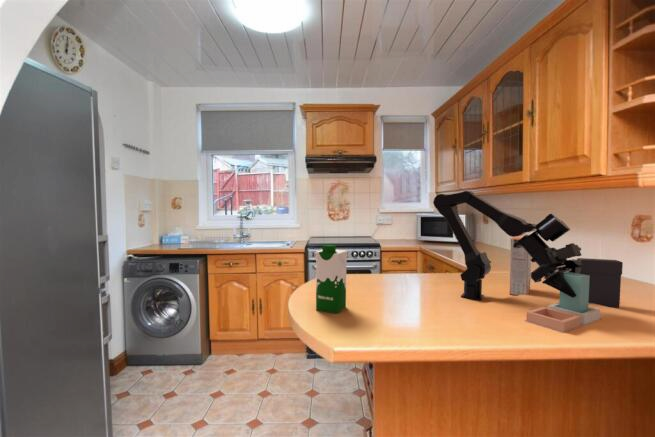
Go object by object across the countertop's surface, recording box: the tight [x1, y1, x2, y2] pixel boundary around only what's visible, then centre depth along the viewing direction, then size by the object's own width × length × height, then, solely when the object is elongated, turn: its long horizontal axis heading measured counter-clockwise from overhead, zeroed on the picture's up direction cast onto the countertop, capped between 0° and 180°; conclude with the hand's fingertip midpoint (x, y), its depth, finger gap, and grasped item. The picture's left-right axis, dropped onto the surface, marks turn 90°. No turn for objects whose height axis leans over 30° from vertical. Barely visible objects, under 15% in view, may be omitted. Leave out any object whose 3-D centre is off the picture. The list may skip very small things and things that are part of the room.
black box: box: [576, 257, 624, 309], centre depth 106 cm, size 11×4×15 cm, turn 71°
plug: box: [558, 272, 590, 313], centre depth 92 cm, size 5×5×12 cm
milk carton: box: [314, 244, 348, 314], centre depth 100 cm, size 9×9×20 cm
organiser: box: [524, 302, 602, 334], centre depth 89 cm, size 10×21×4 cm, turn 120°
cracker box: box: [509, 234, 532, 297], centre depth 121 cm, size 14×6×21 cm, turn 144°
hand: (579, 295), depth 91 cm, fingers open, 5 cm apart
